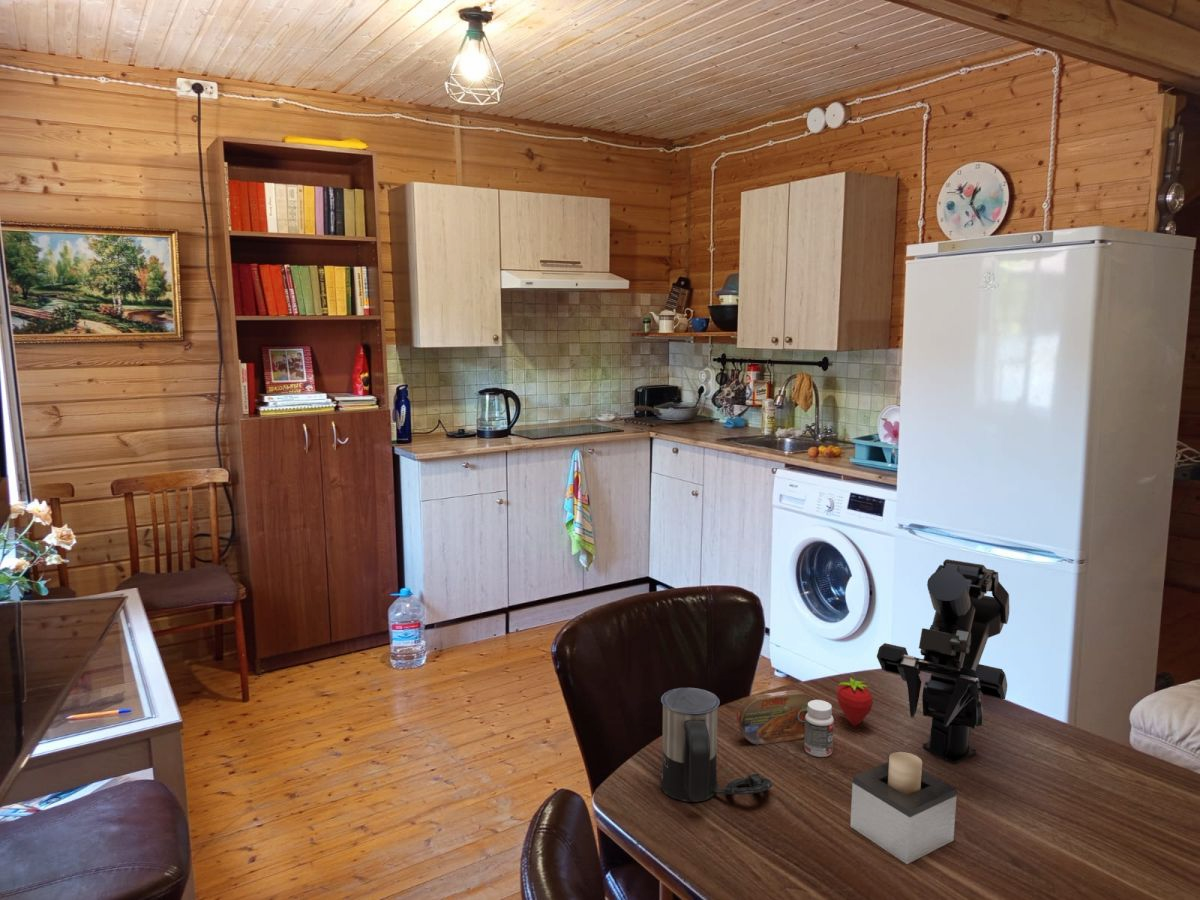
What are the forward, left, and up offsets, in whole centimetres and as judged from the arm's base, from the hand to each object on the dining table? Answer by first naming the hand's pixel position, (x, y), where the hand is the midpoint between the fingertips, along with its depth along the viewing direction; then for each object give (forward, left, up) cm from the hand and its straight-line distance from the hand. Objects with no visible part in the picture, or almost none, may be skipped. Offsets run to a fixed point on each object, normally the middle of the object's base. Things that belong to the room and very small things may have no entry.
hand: (928, 721), depth 128 cm
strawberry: (-8, -22, -13) cm, 26 cm away
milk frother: (+27, -19, -13) cm, 35 cm away
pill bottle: (+4, -19, -13) cm, 23 cm away
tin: (+7, -26, -13) cm, 29 cm away
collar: (+11, +4, -13) cm, 17 cm away
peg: (+11, +4, -9) cm, 15 cm away
